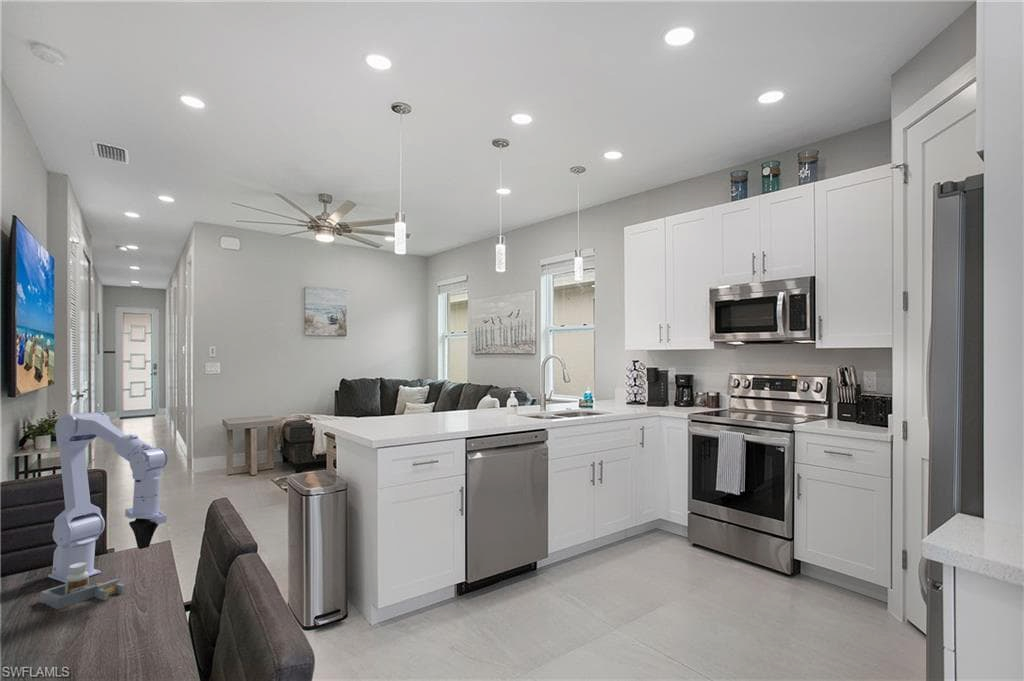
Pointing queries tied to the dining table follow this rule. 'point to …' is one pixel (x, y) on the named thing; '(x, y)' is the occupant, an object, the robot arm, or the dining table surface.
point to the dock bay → (78, 594)
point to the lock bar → (109, 588)
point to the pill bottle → (77, 578)
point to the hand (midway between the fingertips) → (143, 547)
